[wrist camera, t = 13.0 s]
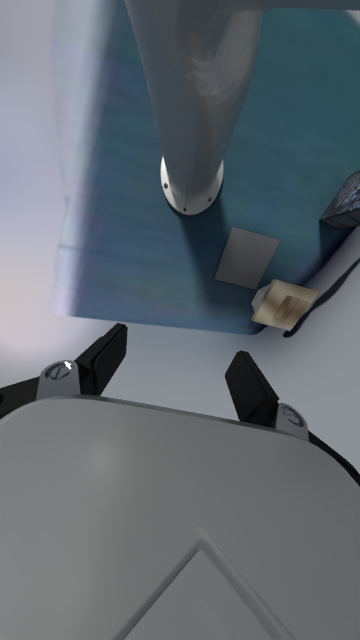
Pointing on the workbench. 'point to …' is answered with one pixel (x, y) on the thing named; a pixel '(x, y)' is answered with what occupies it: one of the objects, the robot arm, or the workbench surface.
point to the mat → (245, 258)
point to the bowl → (259, 297)
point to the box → (345, 205)
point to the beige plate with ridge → (283, 305)
